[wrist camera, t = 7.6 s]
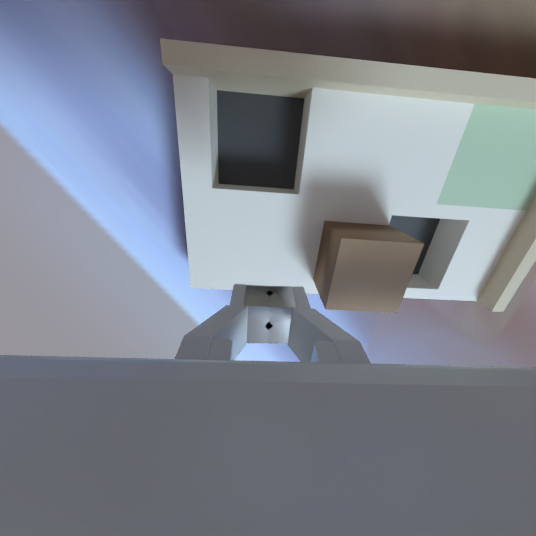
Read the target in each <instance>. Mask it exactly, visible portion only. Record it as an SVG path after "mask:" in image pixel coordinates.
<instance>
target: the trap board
mask: <svg viewBox="0 0 536 536" xmlns="http://www.w3.org/2000/svg"><path fill="white" fill-rule="evenodd" d="M160 46H161V56H162V65H163V66H164V67H165V68H167V69H168V70H169V71H170V72H171V73H172V74H173V86H174V98H175V109H176V121H177V133H178V144H179V156H180V168H181V180H182V191H183V203H184V215H185V226H186V238H187V250H188V262H189V273H190V285H191V288H201V289H223V290H233V286H234V284H250V285H266V286H303V287H304V290H305V293H310V294H319V293H318V291H317V288H316V286H315V283H314V281H313V279H314V273H315V268H316V263H317V257H318V252H319V247H320V241H321V236H322V231H323V225H324V221H335V222H349V223H363V224H377V225H390V226H392V227H394V228H396V229H398V230H399V231H401V232H403V233H405V234H407V235H409V236H411V237H412V238H414V239H416V240H418V241H420V242H422V243H424V246H423V248H422V251H421V253H420V256H419V258H418V261H417V263H416V266H415V269H414V271H413V274H412V276H411V279H410V281H409V284H408V286H407V289H406V291H405V294H404V296H403V298H420V299H442V300H464V301H477V302H479V303H480V304H482V305H483V306H485V307H486V308H488V309H489V310H491V311H496V312H503V311H504V309H505V308H506V306H507V305H508V303H509V301H510V300H511V298H512V297H513V295H514V294H515V292H516V290H517V289H518V287H519V286H520V284H521V282H522V281H523V279H524V278H525V276H526V275H527V273H528V271H529V270H530V268H531V267H532V265H533V263H534V262H535V260H536V78H527V77H517V76H508V75H499V74H489V73H480V72H471V71H461V70H452V69H443V68H433V67H424V66H415V65H405V64H396V63H387V62H377V61H368V60H359V59H349V58H340V57H331V56H321V55H312V54H303V53H293V52H284V51H275V50H265V49H256V48H247V47H237V46H228V45H219V44H209V43H200V42H191V41H181V40H172V39H163V38H160Z"/></svg>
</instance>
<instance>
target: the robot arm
mask: <svg viewBox="0 0 536 536" xmlns="http://www.w3.org/2000/svg"><path fill="white" fill-rule="evenodd" d="M247 343H274V344H288V346H289V347H290V349H291V350H292V351H293V352H294V354H295V355H296V356H297V357H298V359H299V360H300V361H301V362H276V361H234V359H235V358H236V357H237V356H238V354H239V353H240V352H241V351H242V349H243V348H244V347H245V346H246V344H247ZM0 536H536V367H493V366H449V365H448V366H447V365H446V366H445V365H406V364H371V363H370V361H369V359H368V357H367V355H366V353H365V351H364V349H363V347H362V345H361V343H360V342H359V341H358V340H357V339H355V338H354V337H352V336H351V335H350V334H348V333H347V332H346V331H344V330H343V329H341V328H340V327H339V326H337V325H336V324H334V323H333V322H332V321H330V320H329V319H328V318H326V317H325V316H323V315H322V314H321V313H319V312H318V311H316V310H315V309H311V308H310V305H309V302H308V299H307V296H306V293H305V290H304V287H303V286H266V285H250V284H234V286H233V291H232V296H231V302H230V306H228V305H227V306H225V307H224V308H222V309H221V310H219V311H218V312H217V313H215V314H214V315H213V316H211V317H210V318H208V319H207V320H206V321H204V322H203V323H201V324H200V325H199V326H197V327H196V328H195V329H193V330H192V331H190V332H189V333H188V334H186V335H185V336H184V337H183V340H182V342H181V345H180V347H179V350H178V352H177V354H176V357H175V359H148V358H105V357H61V356H19V355H17V356H16V355H0Z"/></svg>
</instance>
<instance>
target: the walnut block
mask: <svg viewBox="0 0 536 536" xmlns="http://www.w3.org/2000/svg"><path fill="white" fill-rule="evenodd" d="M423 246H424V243H422V242H420V241H418V240H416V239H414V238H412V237H411V236H409V235H407V234H405V233H403V232H401V231H399V230H398V229H396V228H394V227H392V226H390V225H377V224H363V223H349V222H335V221H324V225H323V231H322V236H321V241H320V247H319V252H318V257H317V263H316V268H315V273H314V279H313V281H314V283H315V286H316V288H317V291H318V293H319V295H320V298H321V300H322V302H323V305H324V307H325V309H331V310H352V311H373V312H394V313H397V312H398V309H399V306H400V304H401V301H402V299H403V296H404V294H405V291H406V289H407V286H408V284H409V281H410V279H411V276H412V274H413V271H414V269H415V266H416V263H417V261H418V258H419V256H420V253H421V251H422V248H423Z"/></svg>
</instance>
